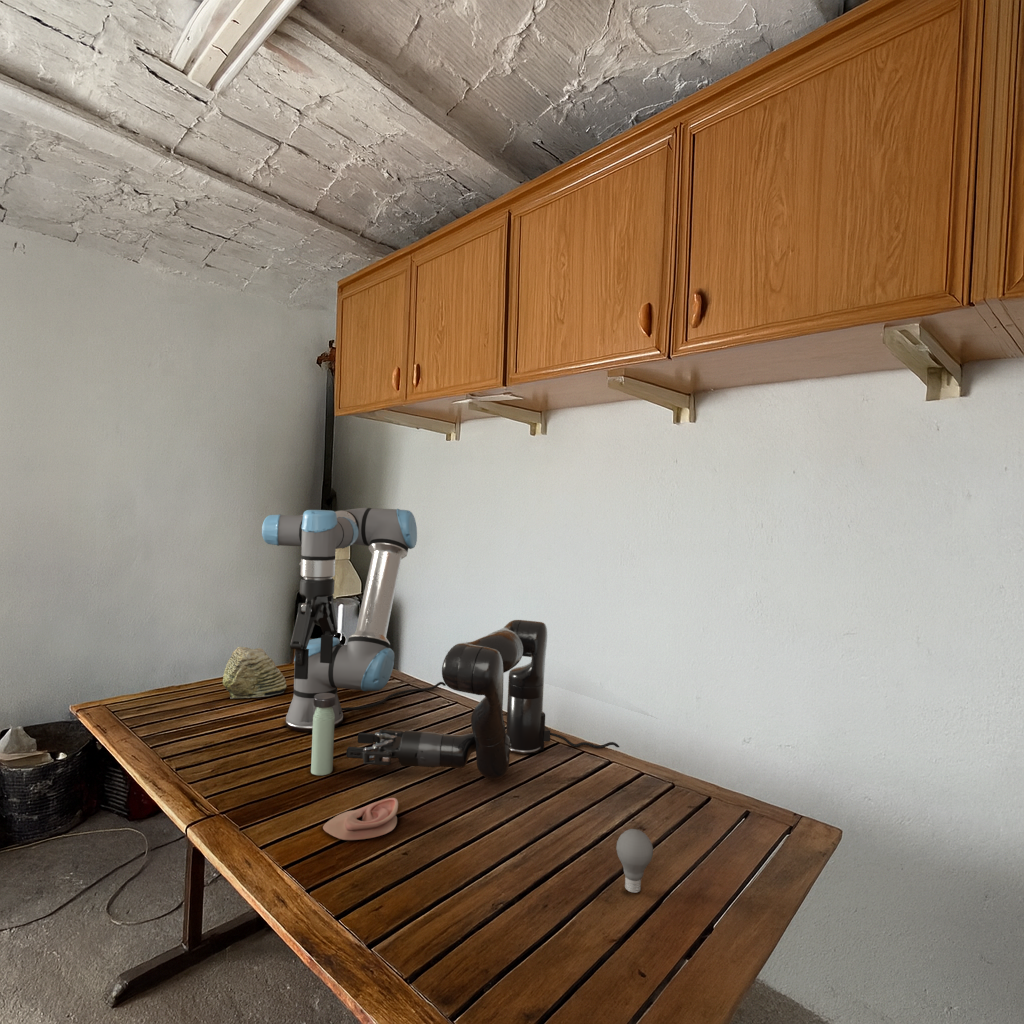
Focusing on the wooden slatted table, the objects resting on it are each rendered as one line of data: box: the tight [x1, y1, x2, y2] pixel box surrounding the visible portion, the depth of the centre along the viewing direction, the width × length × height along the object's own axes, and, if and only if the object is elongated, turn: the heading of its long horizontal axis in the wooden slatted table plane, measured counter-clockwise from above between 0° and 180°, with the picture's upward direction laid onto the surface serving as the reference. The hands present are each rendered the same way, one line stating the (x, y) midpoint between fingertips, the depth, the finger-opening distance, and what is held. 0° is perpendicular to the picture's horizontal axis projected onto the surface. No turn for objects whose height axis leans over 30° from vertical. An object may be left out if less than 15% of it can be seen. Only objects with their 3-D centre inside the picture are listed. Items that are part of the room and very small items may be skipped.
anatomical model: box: [322, 797, 399, 841], centre depth 122 cm, size 13×4×12 cm
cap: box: [314, 693, 335, 708], centre depth 146 cm, size 5×5×2 cm
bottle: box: [310, 707, 335, 776], centre depth 146 cm, size 5×5×17 cm
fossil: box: [222, 646, 288, 699], centre depth 198 cm, size 9×18×15 cm, turn 132°
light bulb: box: [615, 828, 654, 894], centre depth 106 cm, size 6×6×10 cm
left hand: (314, 670), depth 145 cm, fingers open, 13 cm apart
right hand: (352, 744), depth 145 cm, fingers open, 8 cm apart
